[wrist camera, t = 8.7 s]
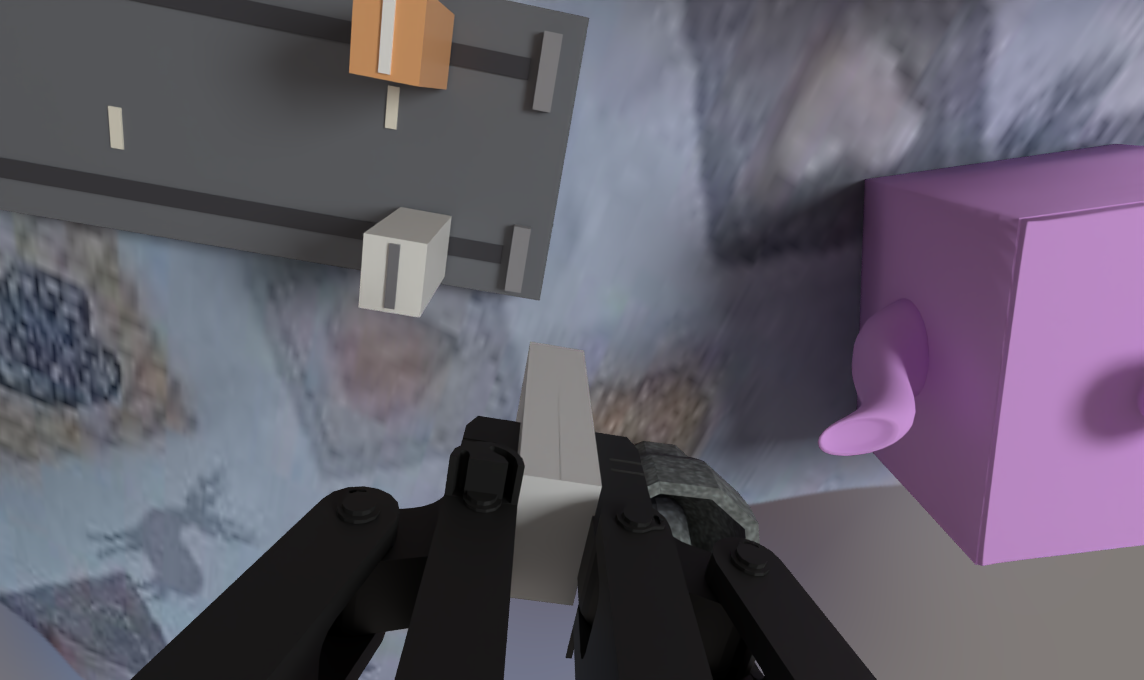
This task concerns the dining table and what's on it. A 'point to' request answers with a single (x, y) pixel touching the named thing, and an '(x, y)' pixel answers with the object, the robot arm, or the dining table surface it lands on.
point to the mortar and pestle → (694, 498)
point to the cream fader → (404, 261)
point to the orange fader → (402, 41)
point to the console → (288, 128)
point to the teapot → (1007, 349)
